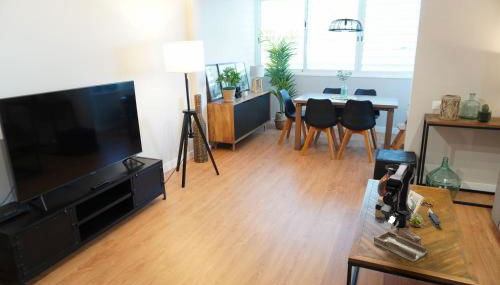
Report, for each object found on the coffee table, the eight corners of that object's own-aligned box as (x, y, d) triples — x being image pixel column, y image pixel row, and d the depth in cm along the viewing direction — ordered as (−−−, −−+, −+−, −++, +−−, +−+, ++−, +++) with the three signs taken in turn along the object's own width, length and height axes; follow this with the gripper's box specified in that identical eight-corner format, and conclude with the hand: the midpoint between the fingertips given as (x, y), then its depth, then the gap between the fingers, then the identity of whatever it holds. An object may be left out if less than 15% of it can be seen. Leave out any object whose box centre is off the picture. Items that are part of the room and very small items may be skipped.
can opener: (425, 214, 234) (426, 207, 233) (435, 215, 233) (436, 208, 232) (432, 227, 216) (433, 220, 215) (443, 228, 215) (444, 221, 214)
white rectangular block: (391, 222, 202) (391, 216, 201) (398, 224, 199) (398, 218, 198) (383, 227, 196) (384, 221, 195) (390, 230, 193) (391, 223, 192)
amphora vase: (378, 195, 266) (380, 161, 259) (408, 200, 257) (412, 164, 250) (374, 206, 247) (377, 169, 240) (407, 211, 238) (411, 173, 231)
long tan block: (405, 234, 209) (405, 226, 208) (421, 246, 196) (422, 238, 195) (398, 235, 208) (399, 227, 206) (414, 247, 195) (415, 239, 193)
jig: (387, 235, 208) (388, 230, 207) (427, 252, 189) (427, 247, 188) (373, 242, 200) (374, 237, 199) (413, 261, 181) (413, 256, 180)
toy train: (374, 218, 229) (375, 205, 227) (378, 209, 243) (379, 195, 241) (383, 220, 226) (384, 206, 224) (387, 210, 241) (388, 197, 238)
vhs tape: (432, 209, 241) (432, 207, 241) (419, 207, 246) (419, 204, 245) (434, 202, 253) (435, 200, 252) (423, 200, 257) (423, 197, 256)
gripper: (370, 197, 196) (368, 222, 200) (401, 208, 182) (398, 235, 186) (381, 192, 203) (379, 217, 207) (412, 203, 188) (409, 228, 192)
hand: (391, 224), depth 198 cm, fingers closed on white rectangular block, 4 cm apart
